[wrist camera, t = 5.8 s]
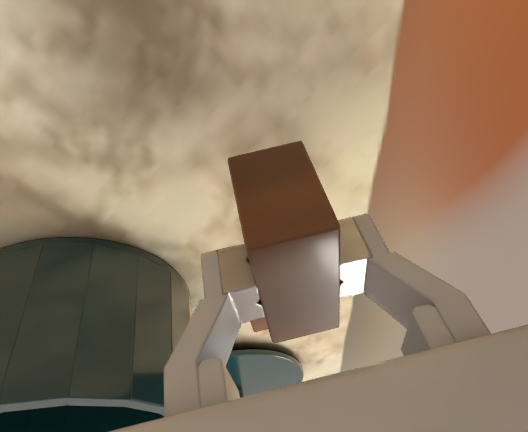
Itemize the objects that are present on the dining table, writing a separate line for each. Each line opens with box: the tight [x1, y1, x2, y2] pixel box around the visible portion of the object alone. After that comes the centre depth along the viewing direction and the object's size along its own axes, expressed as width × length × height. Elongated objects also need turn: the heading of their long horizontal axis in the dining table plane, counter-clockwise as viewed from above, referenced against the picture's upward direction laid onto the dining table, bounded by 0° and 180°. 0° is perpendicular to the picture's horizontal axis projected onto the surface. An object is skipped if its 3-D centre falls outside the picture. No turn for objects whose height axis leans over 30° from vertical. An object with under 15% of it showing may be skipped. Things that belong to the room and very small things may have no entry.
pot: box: [0, 237, 192, 432], centre depth 23 cm, size 14×15×9 cm
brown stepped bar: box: [228, 141, 340, 343], centre depth 14 cm, size 10×4×4 cm, turn 8°
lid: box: [226, 349, 303, 398], centre depth 37 cm, size 15×15×5 cm
